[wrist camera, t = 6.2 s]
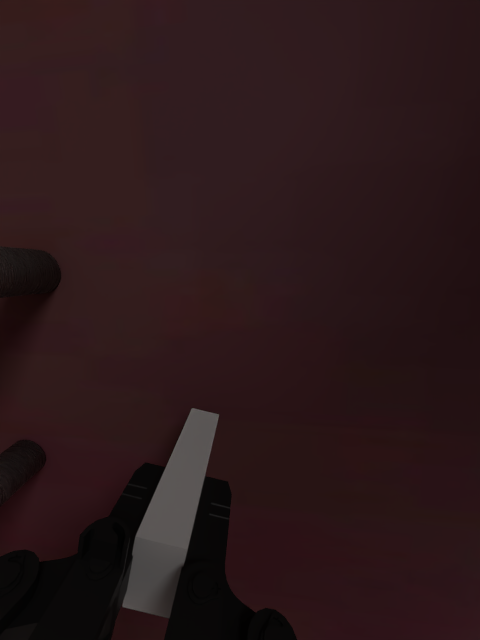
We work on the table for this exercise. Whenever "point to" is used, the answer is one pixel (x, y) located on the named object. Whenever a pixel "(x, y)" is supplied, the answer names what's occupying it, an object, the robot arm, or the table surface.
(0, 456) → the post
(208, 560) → the robot arm
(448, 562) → the table surface
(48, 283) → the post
